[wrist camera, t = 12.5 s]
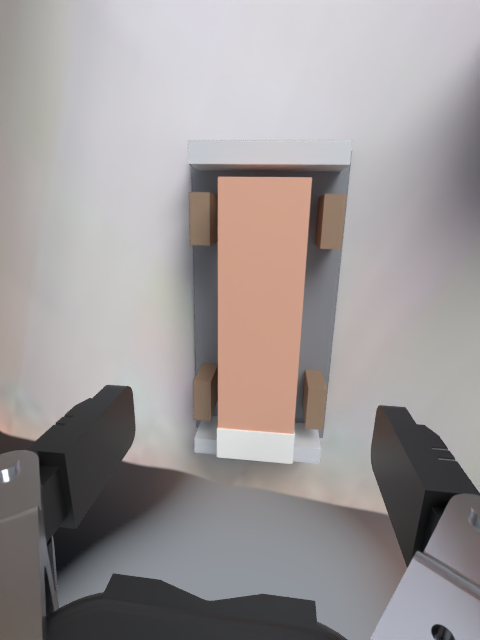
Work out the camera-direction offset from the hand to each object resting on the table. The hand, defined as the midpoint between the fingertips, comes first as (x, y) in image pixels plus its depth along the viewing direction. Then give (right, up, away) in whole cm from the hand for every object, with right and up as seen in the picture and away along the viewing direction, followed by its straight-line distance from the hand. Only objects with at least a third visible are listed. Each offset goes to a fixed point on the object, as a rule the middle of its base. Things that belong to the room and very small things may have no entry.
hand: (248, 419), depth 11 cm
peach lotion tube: (+1, +4, +13) cm, 14 cm away
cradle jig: (+1, +4, +14) cm, 15 cm away
